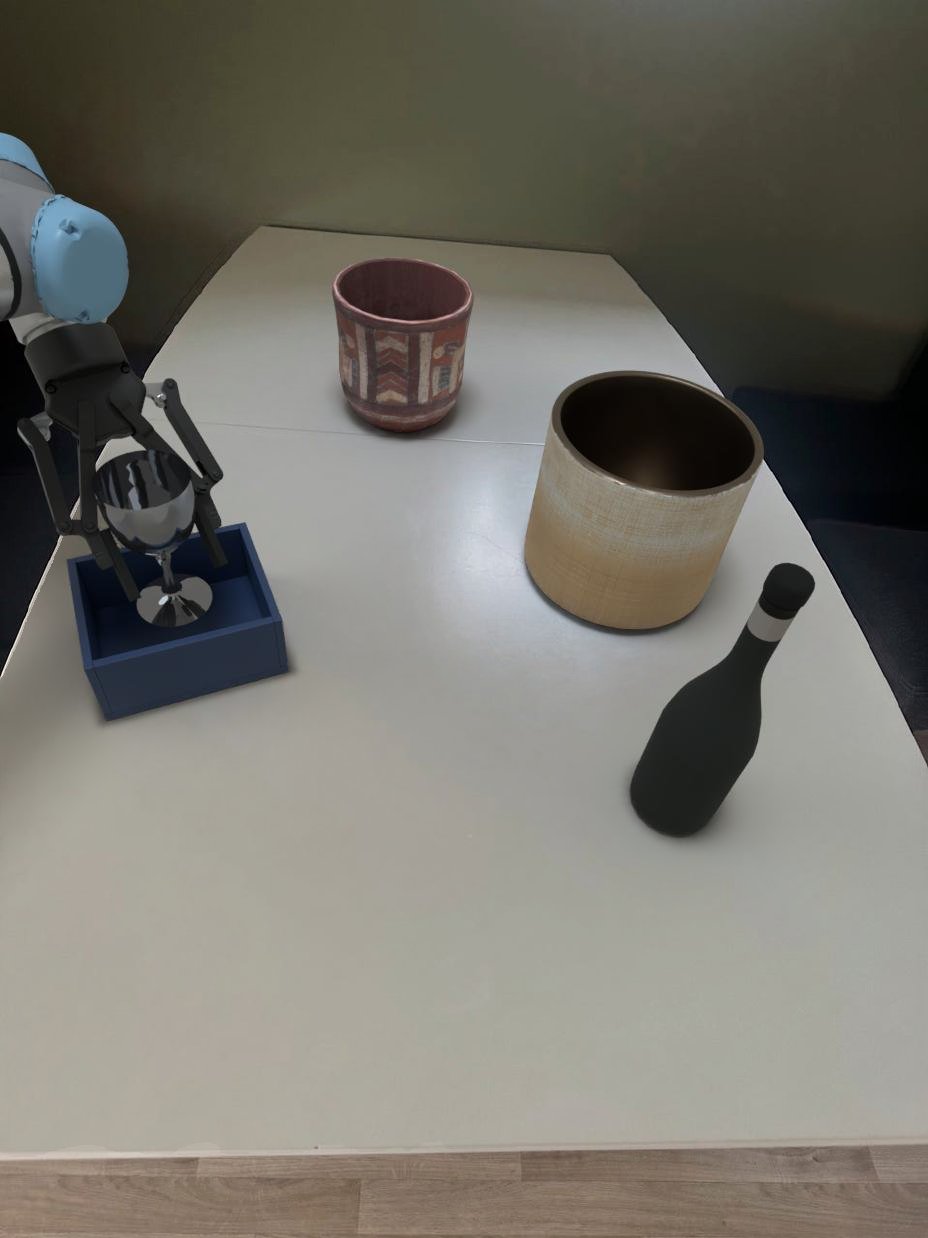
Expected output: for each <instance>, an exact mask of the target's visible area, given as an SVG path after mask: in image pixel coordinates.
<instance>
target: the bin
mask: <svg viewBox="0 0 928 1238" xmlns="http://www.w3.org/2000/svg"><path fill="white" fill-rule="evenodd" d="M214 531H215V534H216V536H217V538H218V540H219V543H220V545H221V547H222V550H223V552H224V554H225V556H226V559H227V561H228V564H225V565H223V566H220V567H217V568H214V566H213V563H212V561H211V559H210V557H209V554H208V552H207V550H206V548H205V545H204V543H203V541H202V539H201V536H200V534H199V532H198V531H195V532H192V533H191V535H190V536H189V538H188V539H187V540H186V542H185V543H184V544H183V545H182V546H180V547H179V548H178V549H177V550H176V551H175V552H174V553H173V556H172V572H173V574H189V575H193V576H196V577H199V578H200V579H202V580H204V581H205V582H206V583H207V584H208V585H209V586H210V588H211V590H212V594H213V600H212V603H211V606H210V608H209V609H208V611H207V612H206V613H205V614H204V615H203V616H202V617H200V618H199V619H197V620H196V621H194V622H192V623H190V624H187V625H184V626H179V627H169V628H168V627H159V626H155V625H152V624H150V623H148V622H147V621H145V620H144V619H143V618H142V617H141V616H140V615H139V613H138V610H137V600H134V601H131V602H129V599H128V597H127V595H126V593H125V591H124V589H123V587H122V585H121V582H120V580H119V578H118V576H117V574H116V572H115V570H114V567H112V568H109V569H106V570H102V569H101V568H100V567H99V566H98V564H97V562H96V560H95V558H94V556H93V554H92V553H89V554H84V555H80V556H75V557H70V558H66V559H65V561H66V568H67V574H68V580H69V586H70V592H71V599H72V604H73V610H74V611H73V612H74V617H75V622H76V629H77V636H78V641H79V642H78V643H79V648H80V653H81V660H82V666H83V671H84V674H85V675H86V677H87V681H88V682H89V684H90V687H91V688H92V692H93V693H94V696H95V698H96V700H97V703H98V705H99V707H100V709H101V711H102V714H103V717H104V719H105V720H106V722H108V721H112V720H117V719H120V718H124V717H128V716H131V715H135V714H139V713H143V712H146V711H149V710H153V709H157V708H160V707H163V706H167V705H171V704H174V703H175V704H176V703H178V702H182V701H186V700H191V699H193V698H197V697H200V696H205V695H208V694H211V693H216V692H219V691H222V690H227V689H229V688H234V687H237V686H241V685H244V684H248V683H252V682H256V681H259V680H263V679H266V678H270V677H273V676H277V675H281V674H285V673H288V672H290V670H289V662H288V654H287V646H286V639H285V632H284V623H283V618H282V615H281V613H280V610H279V607H278V605H277V603H276V600H275V597H274V594H273V591H272V589H271V586H270V584H269V581H268V578H267V575H266V573H265V571H264V567H263V565H262V562H261V560H260V557H259V554H258V551H257V549H256V547H255V544H254V540H253V539H252V535H251V533H250V530H249V528H248V524H247V522H245V521H244V522H239V523H235V524H230V525H225V526H221V527H219V528H216V529H214ZM118 548H119V550H120V552H121V554H122V556H123V558H124V561H125V563H126V565H127V567H128V569H129V571H130V573H131V576H132V578H133V580H134V582H135V584H136V586H137V588H138V591H139V593H141V591H142V590H143V589H144V588H145V587H146V586H147V585H148V584H149V583H151V582H152V581H154V580H156V579H158V578H160V577H163V576H164V575H163V573H162V571H161V569H160V567H159V565H158V563H157V562H156V561H155V560H154V559H153V558H151V557H149V556H146V555H142V554H139V553H136V552H134V551H132V550H130V549H128V548H126V547H125V546H122V547H118Z"/></svg>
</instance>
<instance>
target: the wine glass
mask: <svg viewBox="0 0 928 1238" xmlns="http://www.w3.org/2000/svg"><path fill="white" fill-rule="evenodd" d="M181 458H182V457H181ZM181 458H179V457H177V456H176V455H174V454H171V453H168V452H163V451H157V450H146V449H141V450H134V451H129V452H125V453H122V454H119V455H117V456H115V457H113V458H111V459H109V460H107V461H105V462H104V463H103V464H102V465H101V466H100V467H98V469H96V473H95V475H94V476H93V479H92V490H93V493H94V497H95V500H96V502H97V508H98V510H99V512H100V515H101V517H102V519H103V521H104V523H105V524H106V527H107V528H109V529H110V531H111V533H112V535H113V537H114V538H115V540H116V541H118V542H119V544H121V545H122V547H126V548H128V549H130V550H132V551H134V552H136V553H139V554H142V555H146V556H149V557H151V558H153V559H154V560H155V561H156V562H157V563H158V565H159V567H160V569H161V571H162V573H163V575H164V576H163V577H160V578H158V579H156V580H154V581H152V582H151V583H149V584H148V585H147V586H146V587H145V588H144V589H143V590H142V591H141V593H140V595H141V597H142V598H139V599H137V610H138V613H139V615H140V616H141V617H142V618H143V619H144V620H145V621H147V622H148V623H150V624H152V625H155V626H159V627H168V628H169V627H179V626H184V625H187V624H190V623H192V622H194V621H196V620H197V619H199V618H200V617H202V616H203V615H204V614H205V613H206V612H207V611H208V609H209V608H210V606H211V603H212V600H213V594H212V590H211V588H210V586H209V585H208V584H207V583H206V582H205V581H204V580H202V579H200V578H199V577H196V576H193V575H189V574H173V572H172V556H173V553H174V552H175V551H176V550H177V549H178V548H179V547H180V546H182V545H183V544H184V543H185V542H186V540H187V539H188V538H189V536H190V535H191V533H193V530H194V527H195V514H196V497H195V490H194V484H193V479H192V475H191V471H190V469H189V467H188V465H189V464H188V463H187V462H186V461H185V460H184V459H183V458H182V459H183V460H184V461H183V460H182V459H181ZM185 462H186V463H187V464H188V465H187V464H186V463H185Z"/></svg>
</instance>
